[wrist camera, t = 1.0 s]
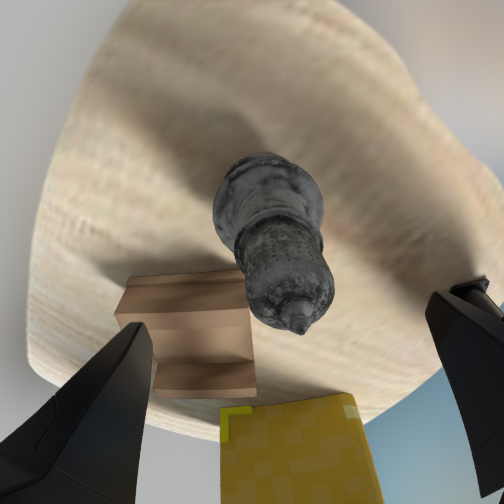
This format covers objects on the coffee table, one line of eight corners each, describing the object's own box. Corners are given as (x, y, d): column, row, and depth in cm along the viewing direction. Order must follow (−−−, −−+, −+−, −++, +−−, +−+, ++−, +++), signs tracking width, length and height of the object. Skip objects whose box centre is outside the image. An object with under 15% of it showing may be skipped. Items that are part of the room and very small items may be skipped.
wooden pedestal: (245, 269, 20) (248, 305, 17) (254, 363, 26) (257, 397, 22) (129, 277, 20) (112, 310, 17) (164, 366, 26) (158, 399, 22)
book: (230, 428, 33) (236, 587, 11) (219, 407, 30) (223, 596, 8) (350, 410, 33) (387, 562, 11) (357, 386, 30) (406, 565, 8)
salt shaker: (225, 140, 16) (203, 211, 5) (318, 160, 17) (434, 256, 6) (210, 227, 19) (185, 384, 8) (295, 241, 19) (349, 391, 9)
